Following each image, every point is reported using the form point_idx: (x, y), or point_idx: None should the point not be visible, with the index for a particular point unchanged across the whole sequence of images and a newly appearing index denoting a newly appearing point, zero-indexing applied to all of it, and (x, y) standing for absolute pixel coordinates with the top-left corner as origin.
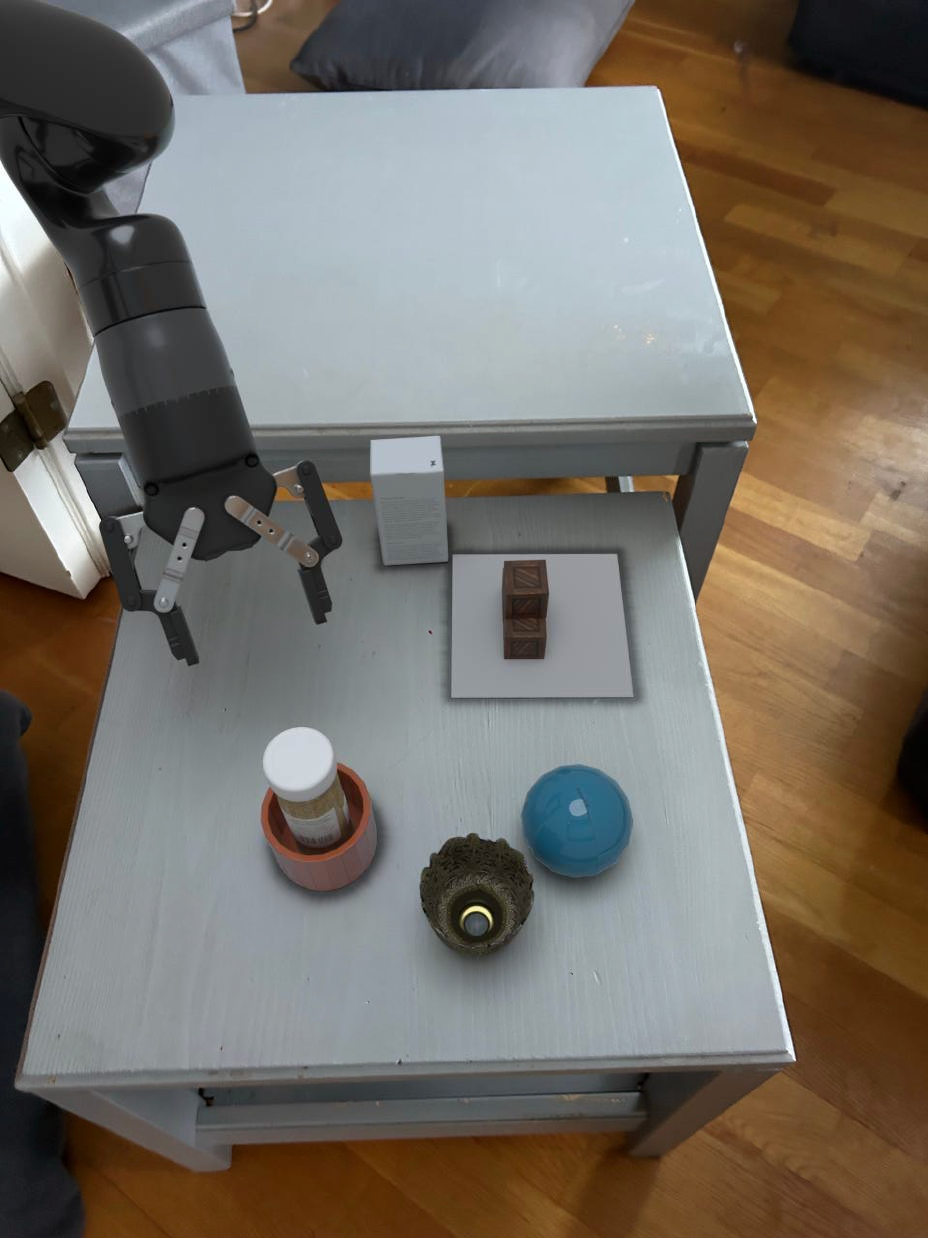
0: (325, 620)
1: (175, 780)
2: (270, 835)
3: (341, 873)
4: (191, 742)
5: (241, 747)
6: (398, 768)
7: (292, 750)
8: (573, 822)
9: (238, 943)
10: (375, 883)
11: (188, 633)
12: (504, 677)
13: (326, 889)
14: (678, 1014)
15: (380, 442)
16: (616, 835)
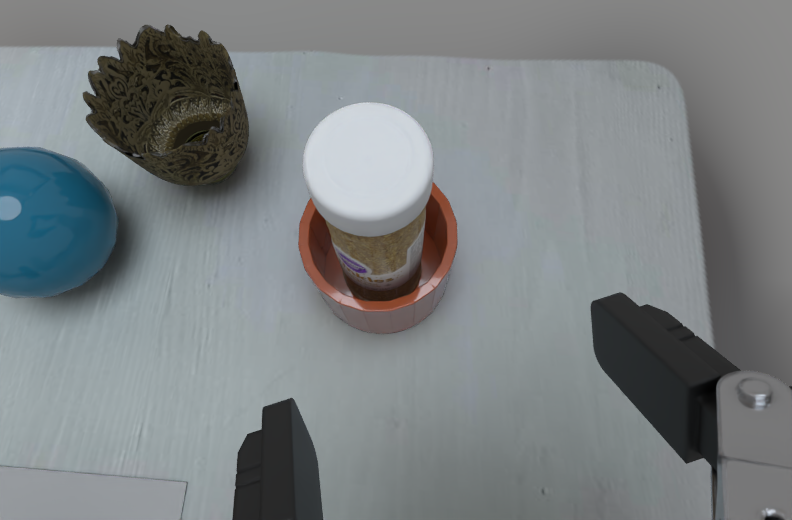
0: (267, 406)
1: (598, 372)
2: (441, 201)
3: None
4: (586, 434)
5: (509, 419)
6: (281, 366)
7: (377, 169)
8: (6, 165)
9: (482, 160)
10: None
11: (638, 345)
12: (95, 514)
13: None
14: (31, 70)
15: None
16: None
